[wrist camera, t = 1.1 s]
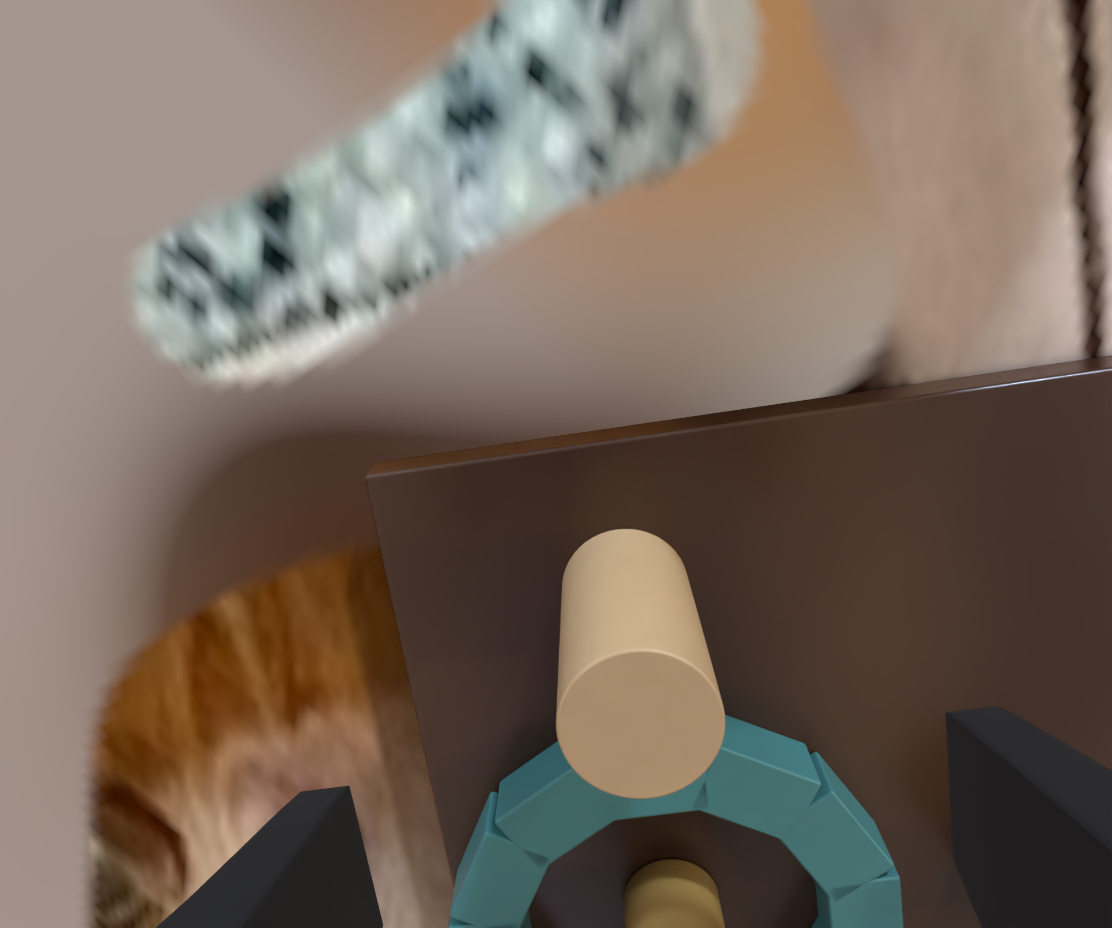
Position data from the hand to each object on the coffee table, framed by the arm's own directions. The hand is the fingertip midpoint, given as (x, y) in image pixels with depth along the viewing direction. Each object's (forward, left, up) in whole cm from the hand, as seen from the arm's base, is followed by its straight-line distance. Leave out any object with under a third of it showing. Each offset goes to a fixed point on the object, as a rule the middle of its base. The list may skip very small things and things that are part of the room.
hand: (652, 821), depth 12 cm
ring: (0, -5, -7) cm, 9 cm away
